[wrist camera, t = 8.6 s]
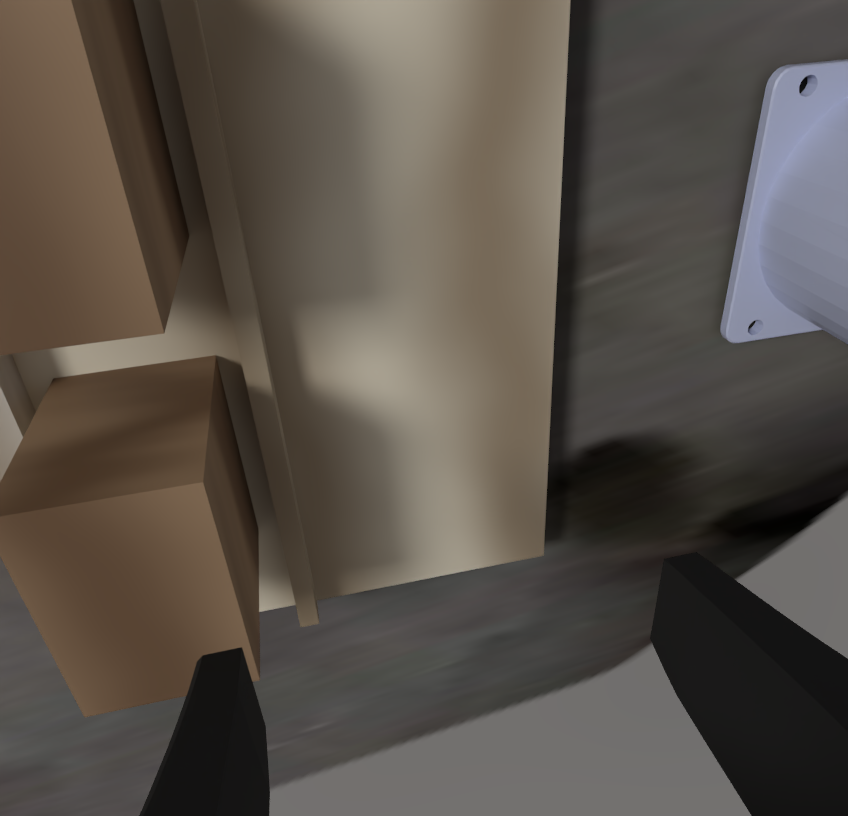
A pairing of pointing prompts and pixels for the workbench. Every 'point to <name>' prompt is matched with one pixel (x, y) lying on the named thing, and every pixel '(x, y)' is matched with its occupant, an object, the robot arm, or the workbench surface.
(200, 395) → the faced block
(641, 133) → the workbench surface
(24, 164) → the turned block
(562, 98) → the long shallow wooden tray
